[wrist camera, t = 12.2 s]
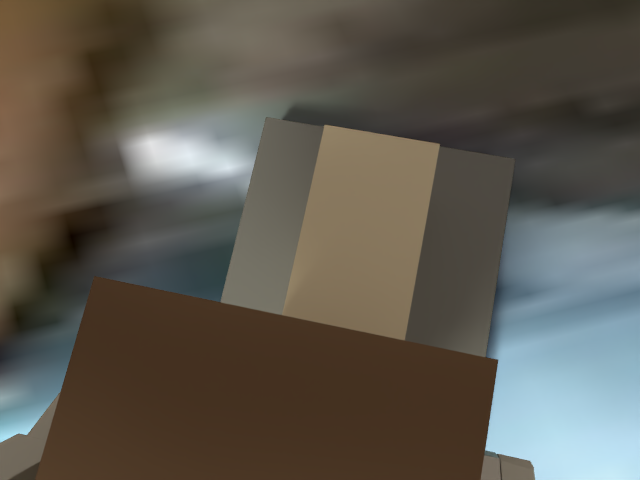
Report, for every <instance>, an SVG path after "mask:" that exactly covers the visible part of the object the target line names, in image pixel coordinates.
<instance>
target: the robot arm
mask: <svg viewBox="0 0 640 480" xmlns="http://www.w3.org/2000/svg"><path fill="white" fill-rule="evenodd" d="M59 396H60V393H59V394H58V396H57V397H56V398H55V400H54V401H53V402H52V403H51V405H50V406H49V407H48V409H47V410H46V411H45V413H44V414H43V415H42V416H41V418H40V419H39V420H38V422H37V423H36V424H35V425H34V427H33V428H32V429H31V431H30V432H29V433H28V435H23V434H17V435H15V436H13V437H11V438H9V439H7V440H5V441H3V442H1V443H0V480H35V478H36V474H37V471H38V468H39V464H40V461H41V457H42V454H43V450H44V447H45V444H46V440H47V437H48V433H49V430H50V427H51V423H52V420H53V416H54V413H55V409H56V406H57V403H58V399H59ZM481 480H535V475H534V467H533V465H532V464H531V462H530V461H528V460H523V459H519V458H514V457H510V456H506V455H501V454H496V453H495V452H490V451H485V453H484V460H483V467H482V474H481Z"/></svg>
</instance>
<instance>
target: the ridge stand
mask: <svg viewBox="0 0 640 480" xmlns="http://www.w3.org/2000/svg"><path fill="white" fill-rule="evenodd" d="M514 165H515V159H512V158H506V157H500V156H494V155H488V154H483V153H477V152H471V151H465V150H459V149H453V148H447V147H441V146H440V144H437V143H431V142H425V141H419V140H413V139H408V138H402V137H396V136H390V135H384V134H378V133H372V132H366V131H360V130H354V129H348V128H342V127H336V126H330V125H324V127H322V126H316V125H310V124H304V123H298V122H292V121H286V120H280V119H274V118H268V117H266V119H265V124H264V128H263V132H262V136H261V140H260V144H259V148H258V152H257V156H256V160H255V164H254V168H253V172H252V176H251V180H250V184H249V188H248V193H247V197H246V201H245V205H244V209H243V213H242V217H241V221H240V225H239V229H238V233H237V237H236V241H235V245H234V249H233V253H232V257H231V262H230V266H229V270H228V274H227V278H226V282H225V286H224V290H223V294H222V298H221V303H226V304H231V305H236V306H241V307H245V308H250V309H255V310H260V311H265V312H269V313H274V314H279V315H284V316H289V317H294V318H298V319H303V320H308V321H313V322H318V323H323V324H327V325H332V326H337V327H342V328H347V329H352V330H356V331H361V332H366V333H371V334H376V335H381V336H385V337H390V338H395V339H400V340H405V341H409V342H414V343H419V344H424V345H429V346H434V347H438V348H443V349H448V350H453V351H458V352H463V353H467V354H472V355H477V356H482V357H486V351H487V344H488V337H489V331H490V324H491V317H492V311H493V304H494V298H495V291H496V284H497V278H498V271H499V264H500V258H501V251H502V245H503V238H504V231H505V225H506V218H507V212H508V205H509V198H510V192H511V185H512V178H513V172H514Z"/></svg>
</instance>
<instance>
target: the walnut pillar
mask: <svg viewBox="0 0 640 480" xmlns="http://www.w3.org/2000/svg"><path fill="white" fill-rule="evenodd" d="M497 364H498V360H496V359H492V358H487V357H482V356H477V355H472V354H467V353H463V352H458V351H453V350H448V349H443V348H438V347H434V346H429V345H424V344H419V343H414V342H409V341H405V340H400V339H395V338H390V337H385V336H381V335H376V334H371V333H366V332H361V331H356V330H352V329H347V328H342V327H337V326H332V325H327V324H323V323H318V322H313V321H308V320H303V319H298V318H294V317H289V316H284V315H279V314H274V313H269V312H265V311H260V310H255V309H250V308H245V307H241V306H236V305H231V304H226V303H221V302H216V301H212V300H207V299H202V298H197V297H192V296H187V295H183V294H178V293H173V292H168V291H163V290H158V289H154V288H149V287H144V286H139V285H134V284H129V283H125V282H120V281H115V280H110V279H105V278H100V277H96V276H94V280H93V283H92V286H91V290H90V293H89V297H88V300H87V303H86V307H85V310H84V314H83V317H82V321H81V324H80V327H79V331H78V334H77V338H76V341H75V344H74V348H73V351H72V355H71V358H70V362H69V365H68V368H67V372H66V375H65V379H64V382H63V386H62V389H61V392H60V396H59V399H58V403H57V406H56V409H55V413H54V416H53V420H52V423H51V427H50V430H49V433H48V437H47V440H46V444H45V447H44V450H43V454H42V457H41V461H40V464H39V468H38V471H37V474H36V478H35V480H481V474H482V467H483V460H484V453H485V446H486V440H487V433H488V426H489V419H490V412H491V405H492V399H493V392H494V385H495V378H496V371H497Z"/></svg>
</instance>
